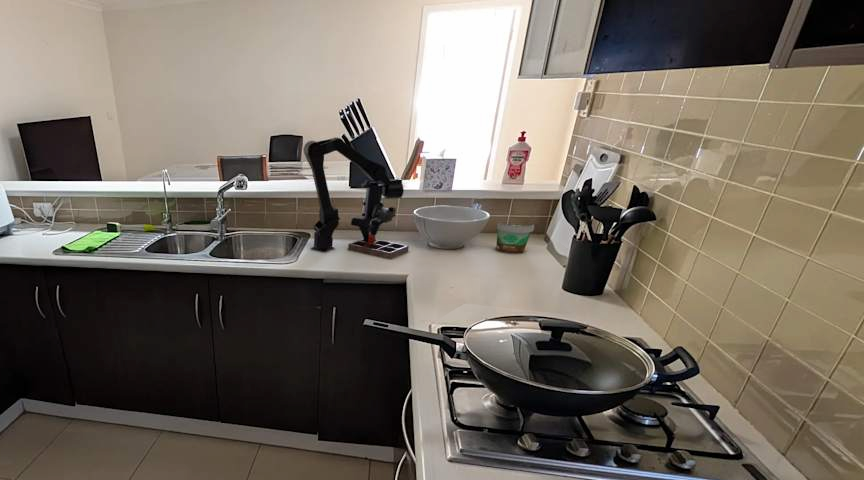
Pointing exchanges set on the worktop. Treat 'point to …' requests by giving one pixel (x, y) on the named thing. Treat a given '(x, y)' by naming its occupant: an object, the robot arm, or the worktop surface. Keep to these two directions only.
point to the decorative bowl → (449, 225)
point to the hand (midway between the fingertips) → (369, 240)
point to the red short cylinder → (371, 238)
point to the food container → (512, 238)
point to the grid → (378, 248)
